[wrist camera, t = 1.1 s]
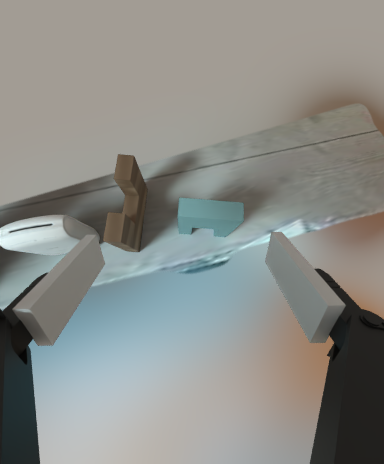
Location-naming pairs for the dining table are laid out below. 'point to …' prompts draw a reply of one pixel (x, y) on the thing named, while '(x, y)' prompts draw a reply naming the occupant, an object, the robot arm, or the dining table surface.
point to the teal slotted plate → (209, 215)
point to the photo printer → (45, 234)
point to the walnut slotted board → (127, 207)
